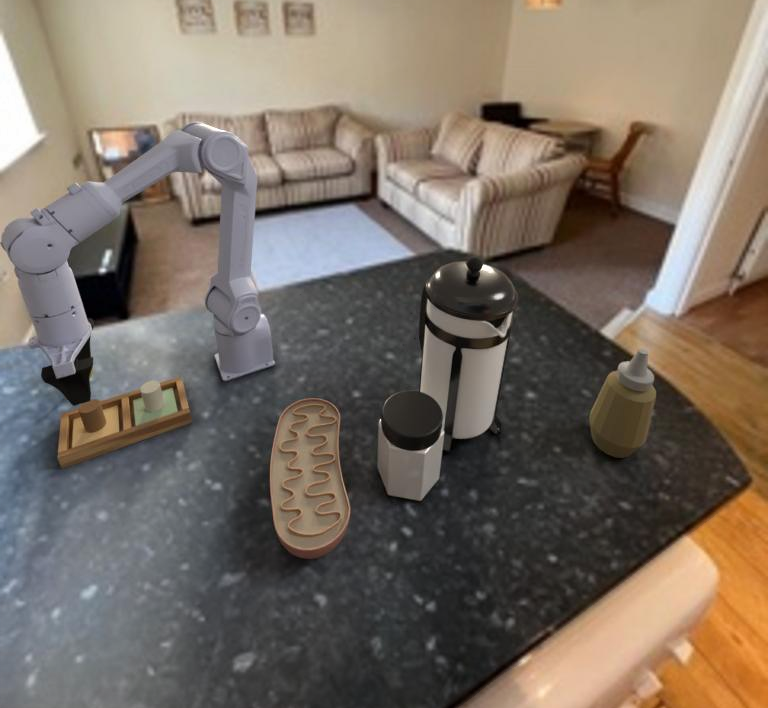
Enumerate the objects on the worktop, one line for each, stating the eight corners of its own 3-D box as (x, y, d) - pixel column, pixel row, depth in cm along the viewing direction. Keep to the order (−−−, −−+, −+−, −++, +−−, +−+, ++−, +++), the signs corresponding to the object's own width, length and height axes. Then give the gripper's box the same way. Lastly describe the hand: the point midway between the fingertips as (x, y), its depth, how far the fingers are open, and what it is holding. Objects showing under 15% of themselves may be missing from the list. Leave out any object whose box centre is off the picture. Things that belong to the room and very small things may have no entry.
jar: (404, 438, 70) (408, 379, 65) (448, 469, 65) (456, 408, 60) (365, 477, 63) (366, 415, 58) (411, 514, 59) (416, 450, 54)
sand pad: (118, 409, 72) (111, 386, 70) (120, 436, 68) (112, 411, 66) (75, 423, 70) (66, 399, 67) (73, 452, 65) (64, 427, 63)
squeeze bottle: (635, 430, 72) (669, 340, 65) (644, 472, 66) (683, 377, 58) (582, 416, 75) (608, 328, 67) (585, 455, 68) (615, 362, 60)
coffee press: (510, 399, 78) (540, 244, 65) (489, 473, 65) (522, 297, 52) (417, 368, 84) (428, 222, 72) (381, 430, 71) (386, 264, 58)
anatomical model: (354, 568, 53) (354, 542, 51) (268, 584, 51) (264, 557, 49) (338, 417, 73) (337, 394, 71) (276, 425, 71) (273, 401, 69)
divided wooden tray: (65, 424, 70) (61, 413, 70) (183, 386, 79) (181, 375, 78) (61, 469, 63) (57, 458, 62) (192, 422, 71) (189, 411, 70)
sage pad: (173, 391, 76) (168, 369, 74) (178, 416, 72) (173, 392, 69) (134, 404, 73) (127, 381, 71) (136, 430, 69) (129, 406, 67)
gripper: (24, 287, 63) (52, 363, 69) (9, 345, 52) (44, 430, 57) (83, 275, 66) (105, 349, 72) (81, 328, 55) (107, 410, 61)
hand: (82, 384), depth 65 cm, fingers open, 7 cm apart
